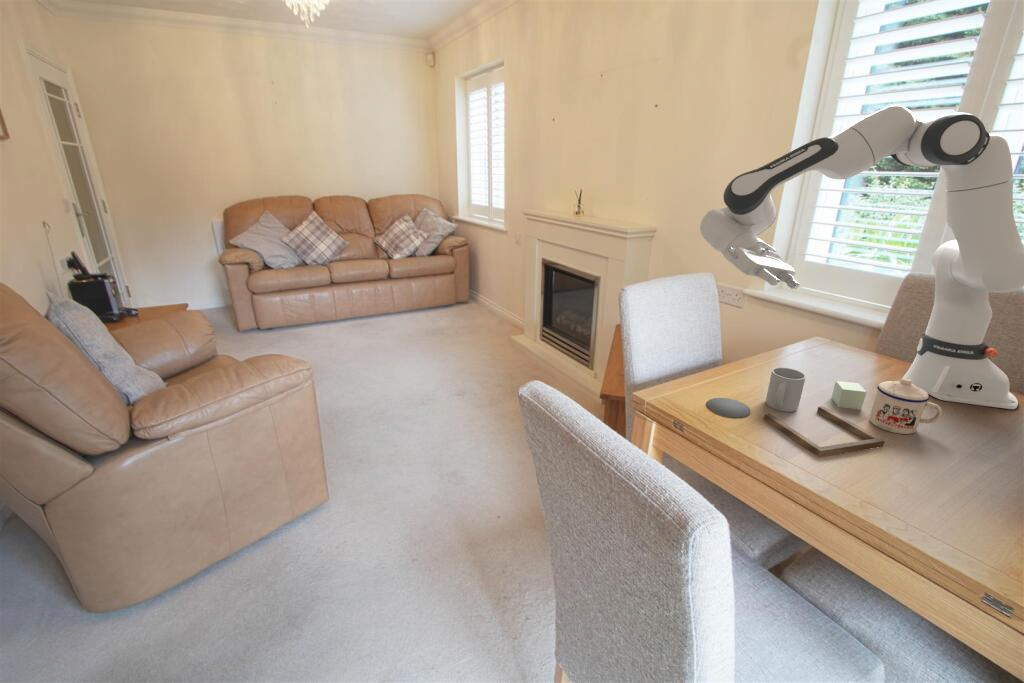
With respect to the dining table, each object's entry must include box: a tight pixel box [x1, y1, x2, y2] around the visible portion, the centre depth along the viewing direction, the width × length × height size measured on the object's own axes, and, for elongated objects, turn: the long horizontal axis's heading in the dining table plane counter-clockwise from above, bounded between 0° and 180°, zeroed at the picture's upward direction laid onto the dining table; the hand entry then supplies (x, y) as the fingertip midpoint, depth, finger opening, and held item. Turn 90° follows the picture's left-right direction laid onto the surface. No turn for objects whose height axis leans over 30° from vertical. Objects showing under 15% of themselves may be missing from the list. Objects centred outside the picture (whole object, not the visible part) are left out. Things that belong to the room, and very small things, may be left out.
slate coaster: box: [706, 397, 751, 419], centre depth 115 cm, size 10×10×1 cm
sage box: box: [830, 380, 867, 410], centre depth 115 cm, size 5×5×5 cm
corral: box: [763, 405, 886, 458], centre depth 103 cm, size 16×16×2 cm
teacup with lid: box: [868, 377, 943, 435], centre depth 104 cm, size 12×9×12 cm
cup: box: [765, 366, 807, 413], centre depth 113 cm, size 7×10×9 cm
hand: (786, 285), depth 111 cm, fingers open, 8 cm apart
